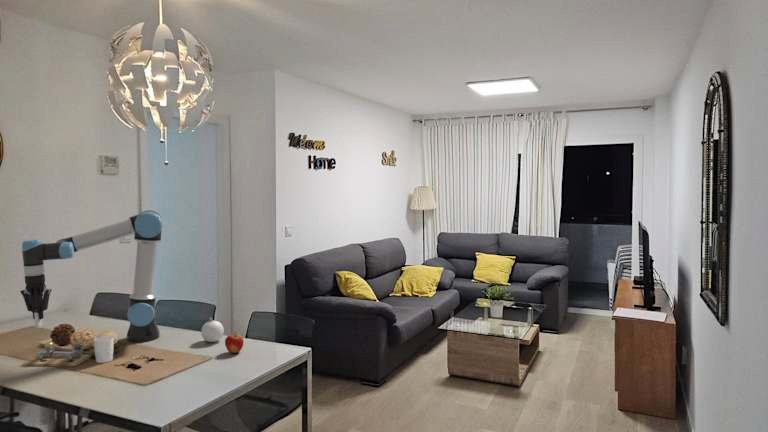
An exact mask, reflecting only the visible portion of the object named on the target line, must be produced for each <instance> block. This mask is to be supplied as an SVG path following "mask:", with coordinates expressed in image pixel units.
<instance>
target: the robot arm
mask: <svg viewBox="0 0 768 432" xmlns="http://www.w3.org/2000/svg"><path fill="white" fill-rule="evenodd" d="M162 219H163V218H162V217H161V214H159V213H158V212H157V211H154V210H150V209H149V210H144V211H141V212H140V213H138V214H136V215H132V216H129V217H128V219H127V220H124V221H120V222H115V223H113V224H110V225H106V226H103V227H99V228H97V229H93V230H90V231H86V232H83V233H79V234H76V235H72V236H69V237H65V238H61V239H58V240H57V241H56V242H48V243H43V242H42V239H40V238H39V239H26V240H23V241H22V242H21V253H22V259H23V261H22V262H23V274H24V284H25V288H24V289H22V290H20V294H21V295H22V297H23V300H24V303H25V306H26V309H27V312H31V313H32V318H33V319H32V320H34V324H35V325H34V326H35V328H40V327H43V325H44V323H43V319H44V312H45V311H47V310H48V306H49V300H50V295H51V292H52V288H47V286H46V283H45V282H46V276H45V265H44V264H45V263H44V261H52V260H53V261H54V260H67V259H72V258H74V256H75V255H74V254H75V253H77V252H80V251H84V250H86V249H90V248H93V247H96V246H100V245H103V244H106V243H110V242H113V241H117V240H120V239H123V238H126V237H130V236H134V237H133V239H134V241H135V242H136V244H137V245H136V256H135V265H134V266H135V267H134V268H135V269H134V278H133V279H134V281H133V289H132V290H133V291H132V293H131V294H129V298H128V308H127V313H126V316H127V320H128V321H129V327H128V330H127V334H126V341H128V342H131V343H143V342H144V343H145V342H149V341H154V340H157V339H159V338H160V334H161V333H160V329H159V327H158V324H157V322H156V299H157V297H156V295H155V292H154V284H155V283H154V282H155V271H156V260H157V249H158V248H157V247H158V243H160V242H161V240H162V229H163V225H164V224H163V220H162Z"/></svg>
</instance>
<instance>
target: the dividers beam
mask: <svg viewBox="0 0 768 432" xmlns="http://www.w3.org/2000/svg"><path fill="white" fill-rule="evenodd" d="M41 351H42V350H41ZM41 351H39V350H38V351H37V352H35V355H36V356H35V357H40V356H39V355H38V353H39V352H41ZM50 353H51V357H60V358H69V361H72V358H81V357H83V355H85V350H84V347H82V343H81V342H78V343H74V344H73V349H72V351H56V350H55V351H53V352H50ZM42 357H43V355H42Z"/></svg>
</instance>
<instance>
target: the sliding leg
mask: <svg viewBox="0 0 768 432" xmlns="http://www.w3.org/2000/svg"><path fill="white" fill-rule="evenodd" d="M55 347H56V346H53V342H52V341H49V342H45V343H44V348H43V350H41V352H39V351H38V352H39V353H38V355H39V356H40V360H42V355H43V357H51V353H50V352H53V351H55V352H56V350H55V349H56V348H55Z"/></svg>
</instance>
